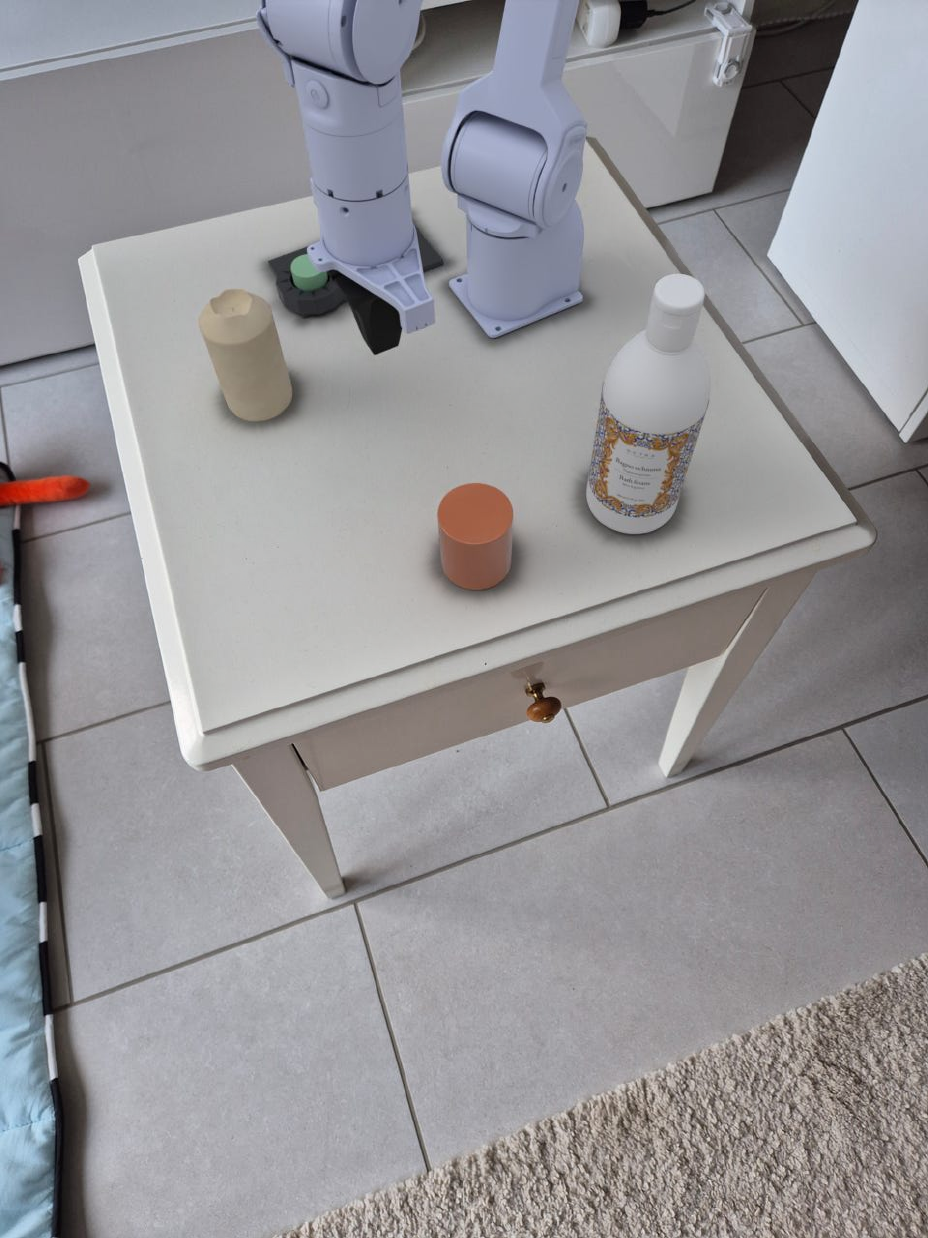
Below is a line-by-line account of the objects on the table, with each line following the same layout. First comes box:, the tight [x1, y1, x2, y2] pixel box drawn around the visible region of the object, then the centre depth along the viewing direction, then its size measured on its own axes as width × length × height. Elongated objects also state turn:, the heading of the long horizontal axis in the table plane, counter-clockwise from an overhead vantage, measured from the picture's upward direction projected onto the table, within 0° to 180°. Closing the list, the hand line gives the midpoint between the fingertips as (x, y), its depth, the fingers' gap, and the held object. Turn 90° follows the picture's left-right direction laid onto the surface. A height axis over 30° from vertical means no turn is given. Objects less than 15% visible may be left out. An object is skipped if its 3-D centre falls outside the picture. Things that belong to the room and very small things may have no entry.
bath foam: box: [585, 273, 712, 535], centre depth 60 cm, size 7×7×20 cm
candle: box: [198, 288, 293, 422], centre depth 71 cm, size 6×6×10 cm
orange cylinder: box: [437, 482, 514, 591], centre depth 64 cm, size 5×5×6 cm
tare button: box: [291, 254, 328, 291], centre depth 78 cm, size 3×3×2 cm
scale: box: [267, 222, 444, 319], centre depth 81 cm, size 15×9×2 cm, turn 119°
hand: (382, 344), depth 65 cm, fingers closed
